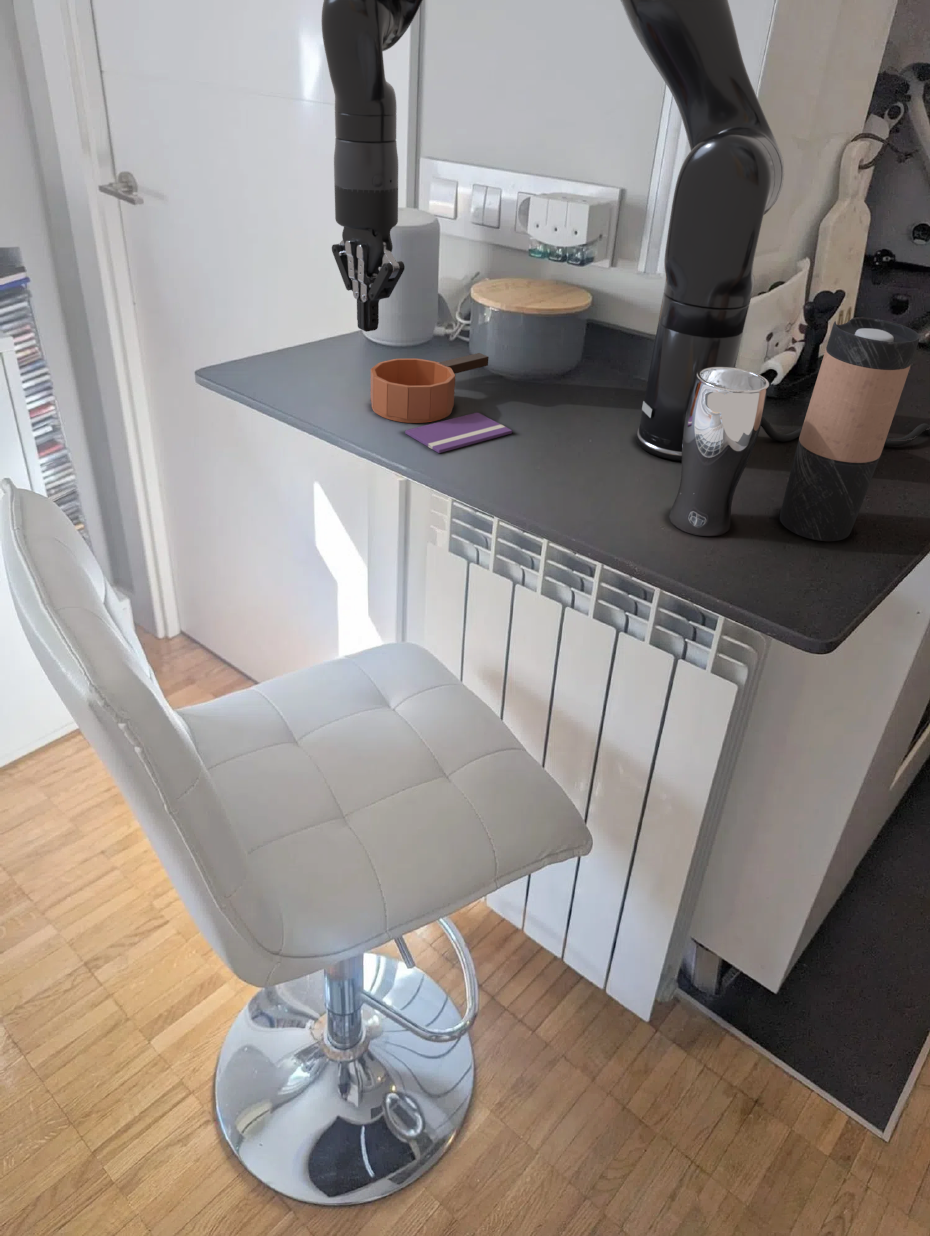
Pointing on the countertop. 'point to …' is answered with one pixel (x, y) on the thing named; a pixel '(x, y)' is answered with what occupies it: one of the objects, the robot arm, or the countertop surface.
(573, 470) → the countertop surface
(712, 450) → the beer glass
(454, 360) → the pan
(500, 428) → the towel
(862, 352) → the travel mug
